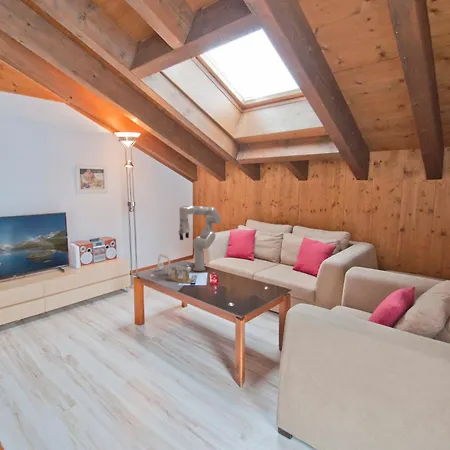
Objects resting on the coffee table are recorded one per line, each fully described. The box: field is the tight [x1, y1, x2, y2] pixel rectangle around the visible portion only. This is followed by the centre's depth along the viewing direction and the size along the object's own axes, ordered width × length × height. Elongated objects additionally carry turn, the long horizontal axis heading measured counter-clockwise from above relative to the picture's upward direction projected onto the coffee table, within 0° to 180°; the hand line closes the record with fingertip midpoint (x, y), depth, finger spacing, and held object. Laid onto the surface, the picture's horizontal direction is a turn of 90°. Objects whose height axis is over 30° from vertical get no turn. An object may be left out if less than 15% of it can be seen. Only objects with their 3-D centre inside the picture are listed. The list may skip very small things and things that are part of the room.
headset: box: [156, 253, 172, 276], centre depth 311 cm, size 20×7×18 cm, turn 42°
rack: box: [165, 268, 196, 285], centre depth 290 cm, size 10×24×12 cm, turn 65°
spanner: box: [168, 264, 192, 273], centre depth 289 cm, size 22×6×3 cm, turn 66°
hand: (184, 238), depth 300 cm, fingers open, 9 cm apart
